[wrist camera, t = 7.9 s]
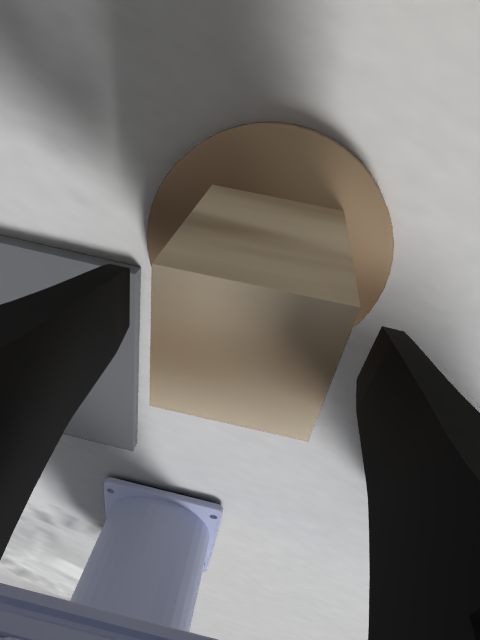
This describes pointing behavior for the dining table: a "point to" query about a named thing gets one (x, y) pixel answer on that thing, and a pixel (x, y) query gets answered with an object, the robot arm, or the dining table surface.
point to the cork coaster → (284, 190)
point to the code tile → (122, 372)
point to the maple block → (252, 311)
